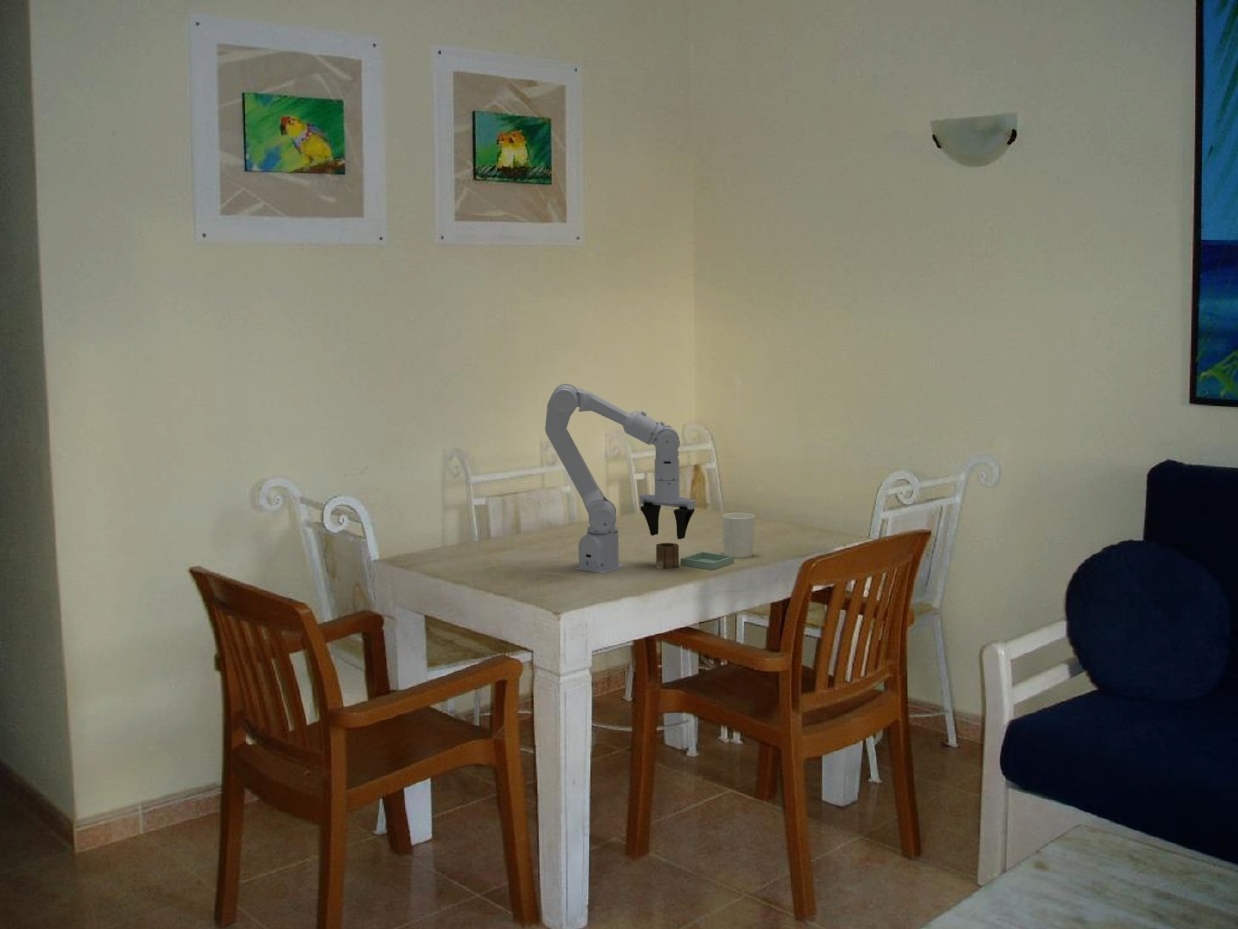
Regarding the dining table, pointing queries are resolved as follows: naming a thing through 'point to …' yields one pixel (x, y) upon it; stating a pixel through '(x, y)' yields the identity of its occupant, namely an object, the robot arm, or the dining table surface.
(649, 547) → the dining table surface
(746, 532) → the white cup
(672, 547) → the brown hollow octagonal cylinder
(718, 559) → the tray
